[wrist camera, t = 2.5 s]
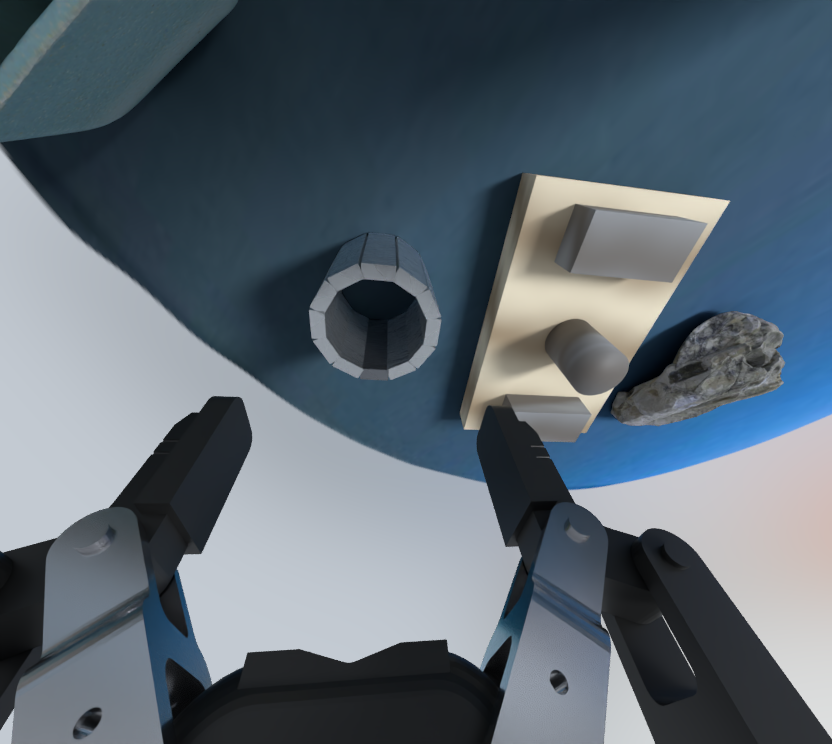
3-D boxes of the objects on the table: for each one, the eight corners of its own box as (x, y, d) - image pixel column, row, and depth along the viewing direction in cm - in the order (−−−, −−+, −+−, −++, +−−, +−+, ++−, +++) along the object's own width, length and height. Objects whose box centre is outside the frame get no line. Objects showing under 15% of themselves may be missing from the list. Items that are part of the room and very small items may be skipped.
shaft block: (522, 172, 17) (576, 182, 12) (699, 196, 18) (812, 213, 13) (459, 412, 27) (474, 469, 22) (574, 416, 28) (612, 471, 24)
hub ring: (327, 228, 18) (303, 257, 13) (434, 239, 18) (449, 270, 14) (332, 325, 21) (315, 376, 17) (421, 331, 22) (430, 382, 17)
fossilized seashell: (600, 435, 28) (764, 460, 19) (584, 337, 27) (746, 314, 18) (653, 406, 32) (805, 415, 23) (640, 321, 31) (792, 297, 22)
